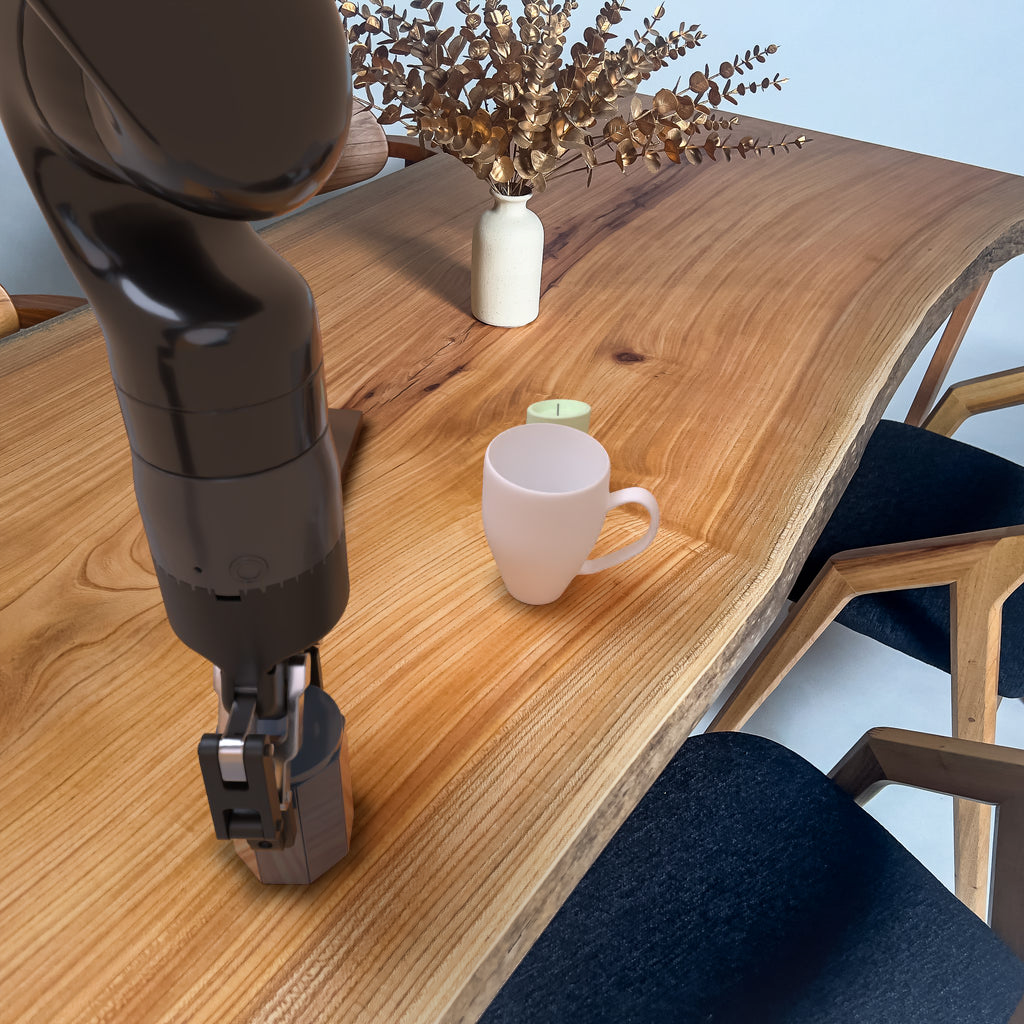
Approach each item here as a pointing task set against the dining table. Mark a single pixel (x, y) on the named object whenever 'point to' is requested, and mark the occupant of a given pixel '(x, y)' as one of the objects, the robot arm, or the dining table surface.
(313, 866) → the cup
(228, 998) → the dining table surface
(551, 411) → the candle
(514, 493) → the mug
